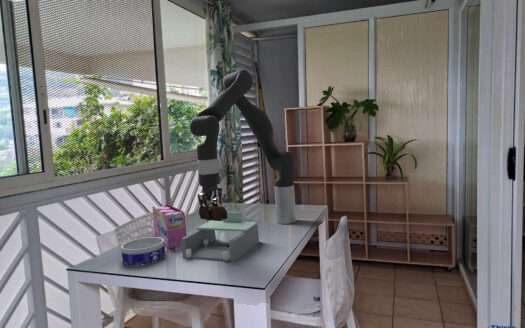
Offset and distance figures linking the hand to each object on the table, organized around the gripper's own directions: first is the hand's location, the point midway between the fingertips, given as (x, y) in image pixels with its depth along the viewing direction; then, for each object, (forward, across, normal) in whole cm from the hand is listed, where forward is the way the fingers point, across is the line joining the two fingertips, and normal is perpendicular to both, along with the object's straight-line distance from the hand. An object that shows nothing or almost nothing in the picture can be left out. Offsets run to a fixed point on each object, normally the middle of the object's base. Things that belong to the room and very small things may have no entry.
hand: (212, 218), depth 135 cm
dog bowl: (+14, +9, -25) cm, 30 cm away
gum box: (+14, -12, -29) cm, 34 cm away
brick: (+1, 0, 0) cm, 1 cm away
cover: (+6, -11, 0) cm, 12 cm away
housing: (+13, -5, 0) cm, 14 cm away
